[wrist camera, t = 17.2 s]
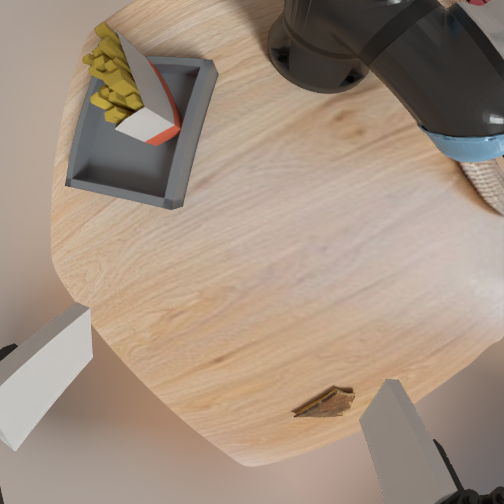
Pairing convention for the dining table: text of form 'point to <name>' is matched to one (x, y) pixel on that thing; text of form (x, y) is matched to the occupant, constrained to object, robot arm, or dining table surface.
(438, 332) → the dining table surface
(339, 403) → the shard
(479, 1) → the puzzle cube
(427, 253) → the dining table surface
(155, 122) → the french fries container
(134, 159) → the tray
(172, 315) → the dining table surface
